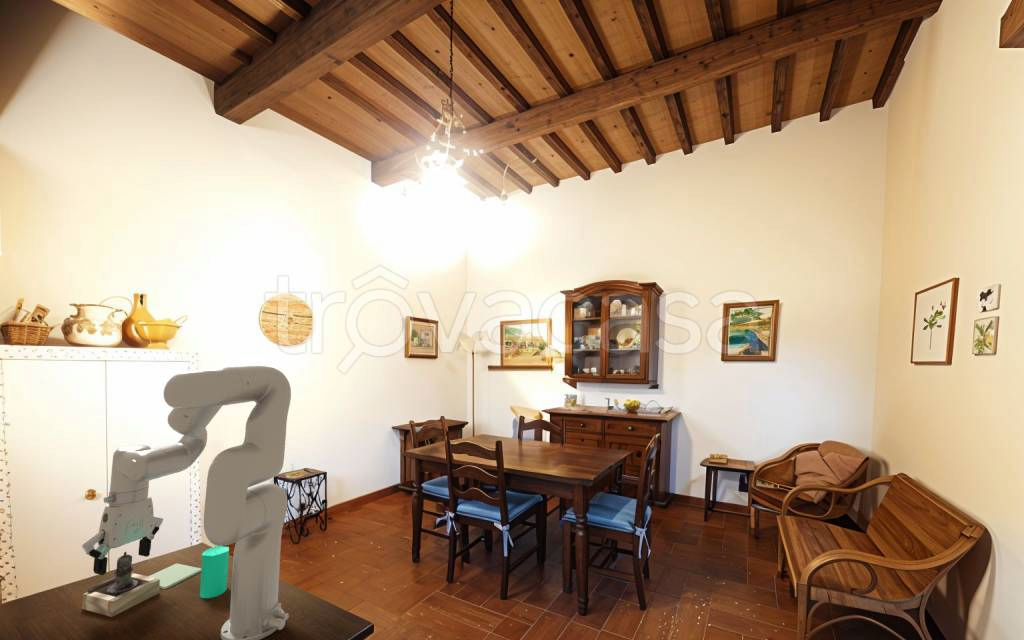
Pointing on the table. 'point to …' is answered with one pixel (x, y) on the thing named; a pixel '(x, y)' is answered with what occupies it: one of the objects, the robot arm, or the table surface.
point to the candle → (214, 572)
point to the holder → (111, 605)
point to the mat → (174, 574)
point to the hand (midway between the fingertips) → (122, 564)
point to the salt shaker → (123, 577)
